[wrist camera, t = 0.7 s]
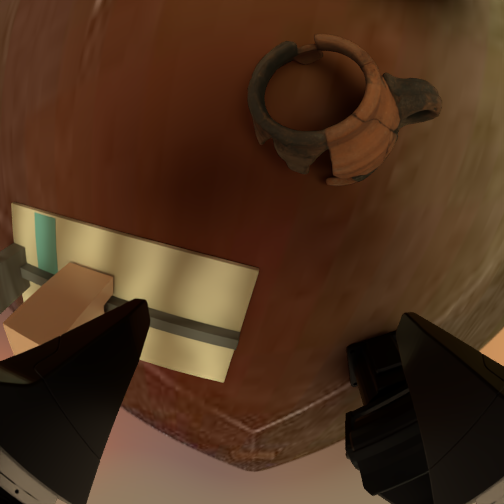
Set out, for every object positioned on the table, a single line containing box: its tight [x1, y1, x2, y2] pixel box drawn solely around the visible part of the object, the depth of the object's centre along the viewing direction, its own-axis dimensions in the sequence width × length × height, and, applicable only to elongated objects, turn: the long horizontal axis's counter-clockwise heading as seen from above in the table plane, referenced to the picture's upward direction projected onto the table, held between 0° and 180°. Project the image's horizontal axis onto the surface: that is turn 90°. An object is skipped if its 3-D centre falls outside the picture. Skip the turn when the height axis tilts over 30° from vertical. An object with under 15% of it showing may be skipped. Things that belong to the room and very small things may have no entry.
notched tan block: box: [3, 262, 113, 356], centre depth 19 cm, size 5×6×10 cm
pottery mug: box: [248, 34, 442, 186], centre depth 15 cm, size 12×10×8 cm
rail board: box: [0, 202, 259, 383], centre depth 22 cm, size 26×14×6 cm, turn 75°
